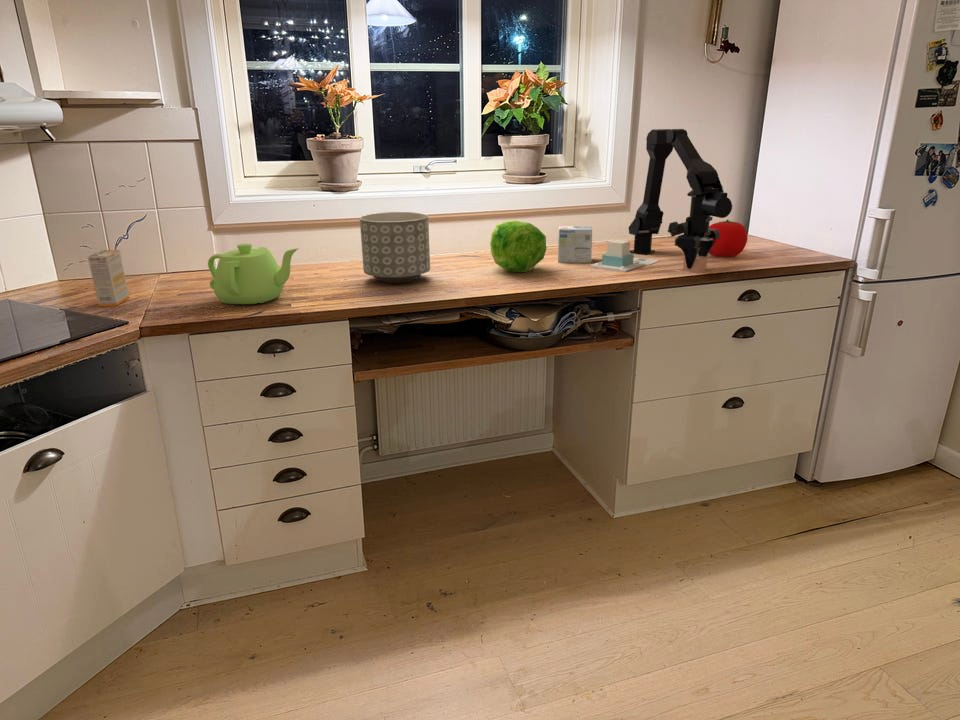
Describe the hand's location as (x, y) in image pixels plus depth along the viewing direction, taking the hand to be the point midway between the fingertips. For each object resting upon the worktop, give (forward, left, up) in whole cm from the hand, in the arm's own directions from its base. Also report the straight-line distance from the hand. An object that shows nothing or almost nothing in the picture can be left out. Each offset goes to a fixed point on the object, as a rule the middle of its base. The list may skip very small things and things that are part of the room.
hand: (694, 266), depth 203 cm
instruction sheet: (-2, -19, -1) cm, 19 cm away
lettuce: (+32, -43, -1) cm, 54 cm away
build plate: (+9, -21, -1) cm, 23 cm away
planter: (+63, -62, -1) cm, 88 cm away
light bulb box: (+10, -36, -1) cm, 37 cm away
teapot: (+100, -76, -1) cm, 126 cm away
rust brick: (0, 0, -1) cm, 1 cm away
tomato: (-25, -1, -1) cm, 25 cm away
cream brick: (+9, -21, +2) cm, 23 cm away
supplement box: (+125, -103, -1) cm, 162 cm away
